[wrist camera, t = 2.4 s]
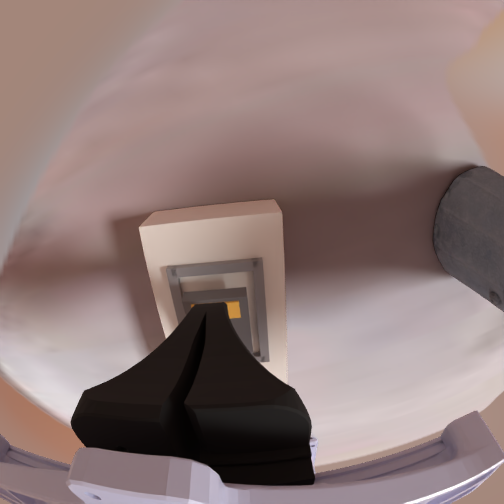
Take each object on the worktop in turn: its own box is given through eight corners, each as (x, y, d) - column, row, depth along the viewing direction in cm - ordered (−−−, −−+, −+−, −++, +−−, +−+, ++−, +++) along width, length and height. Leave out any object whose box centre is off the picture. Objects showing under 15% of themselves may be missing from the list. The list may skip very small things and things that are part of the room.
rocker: (253, 351, 17) (254, 362, 16) (201, 355, 17) (200, 365, 16) (246, 286, 14) (247, 297, 13) (183, 291, 14) (181, 303, 13)
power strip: (283, 420, 24) (287, 449, 21) (207, 425, 24) (206, 455, 21) (274, 199, 17) (283, 214, 14) (153, 211, 17) (136, 229, 14)
